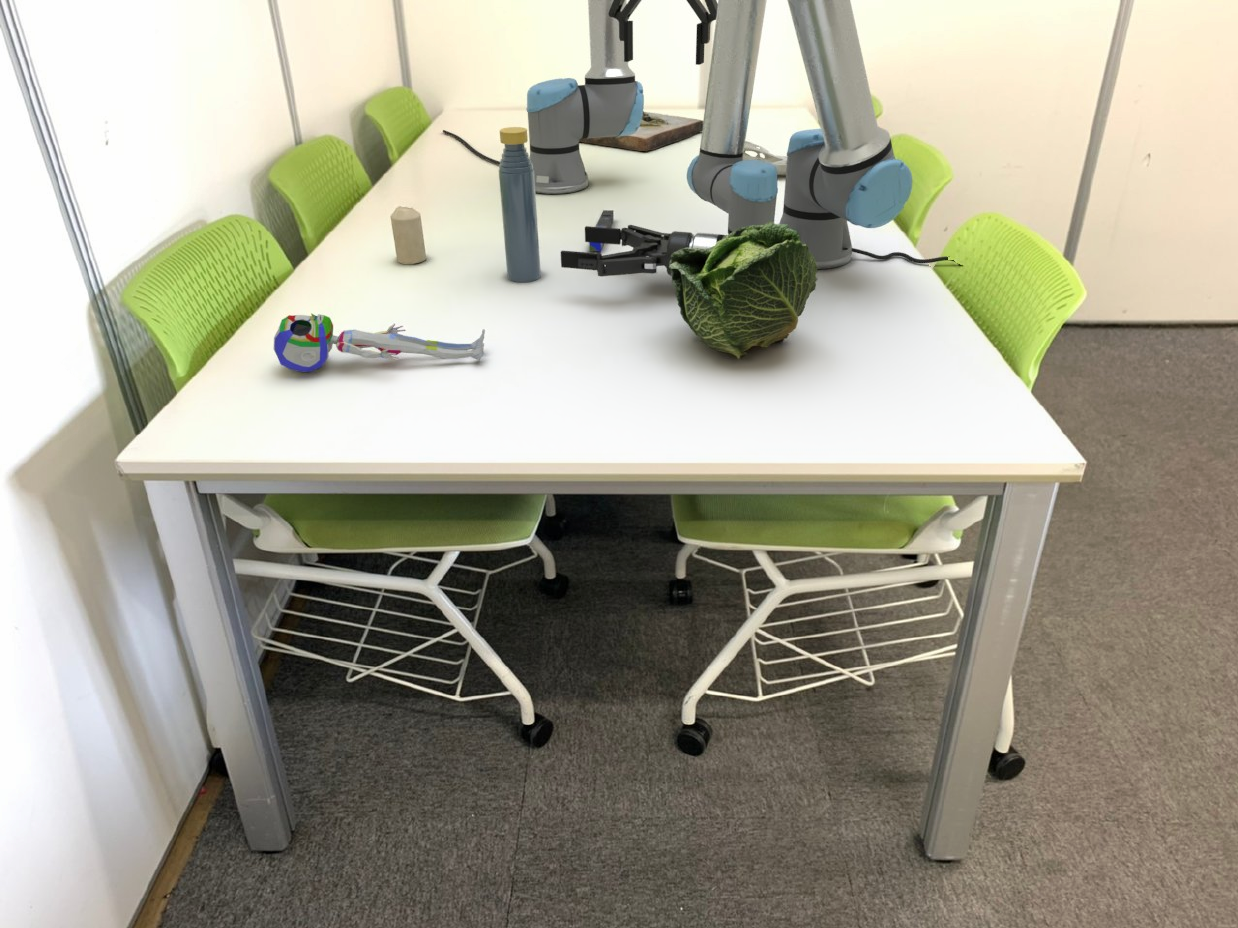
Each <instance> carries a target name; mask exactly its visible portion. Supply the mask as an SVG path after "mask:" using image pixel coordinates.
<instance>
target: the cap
mask: <svg viewBox="0 0 1238 928" xmlns="http://www.w3.org/2000/svg"><path fill="white" fill-rule="evenodd" d="M499 139H500V140H499V141H500V144H503V145H505V144H508V145H517V144H523V143H524V144H526V143H528V142H529V141H528V140H529V137H528V129H527V128H526V127H521V126H508V127H504V128H501V129H499Z"/></svg>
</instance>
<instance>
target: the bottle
mask: <svg viewBox="0 0 1238 928" xmlns="http://www.w3.org/2000/svg"><path fill="white" fill-rule="evenodd" d="M529 157H530V153H529V152H527V148H526V147H525V143H523V144H517V145H508V144H504V148H503V149H502V153H501V158H500V160H499V162H501V163H500V164H498V181H499V193H500V205H501V206H500V207H501V217H502V229H503V239H504V242H503V243H504V251H505V252H504V253H505V263H506V264H505V265H506V275H507V279H508V280H509V281H511V282H515V283H529V282H533V281H534V282H535V281H537V280H538V279H540V278H541V277H542V274H541V273H542V272H541V258H540V257H541V256H540V242H539V241H540V240H539V227H538V226H539V225H538V212H537V211H538V209H537V194H536V192H535V177H534V168H533V163H532V162H531V159H530V158H529Z"/></svg>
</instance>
